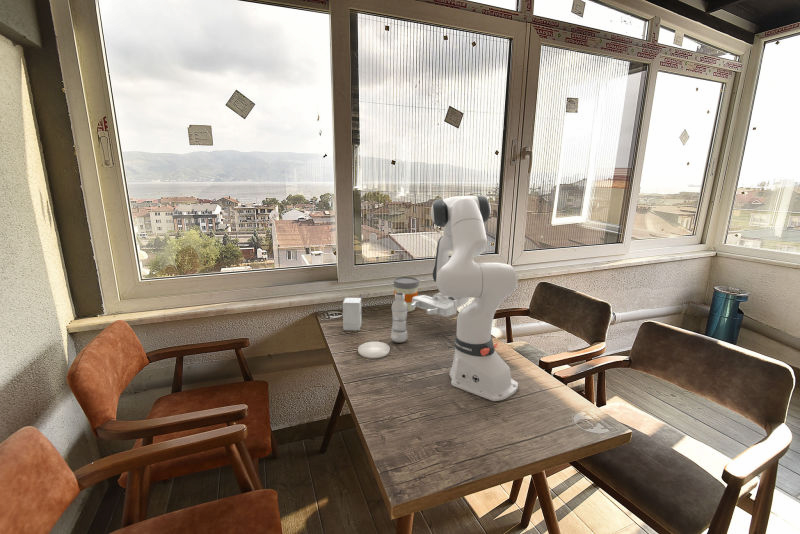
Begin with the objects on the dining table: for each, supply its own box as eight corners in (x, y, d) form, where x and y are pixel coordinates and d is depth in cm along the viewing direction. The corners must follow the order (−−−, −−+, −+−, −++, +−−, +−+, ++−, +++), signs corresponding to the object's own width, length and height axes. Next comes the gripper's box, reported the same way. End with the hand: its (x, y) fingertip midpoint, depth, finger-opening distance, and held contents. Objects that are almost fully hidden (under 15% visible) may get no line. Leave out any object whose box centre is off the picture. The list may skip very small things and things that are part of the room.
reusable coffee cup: (396, 313, 181) (396, 284, 177) (391, 305, 193) (391, 277, 189) (421, 311, 184) (422, 282, 180) (414, 303, 196) (414, 276, 192)
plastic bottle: (391, 337, 154) (391, 291, 150) (407, 337, 154) (408, 291, 149) (390, 344, 148) (390, 296, 143) (407, 344, 148) (408, 296, 143)
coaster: (396, 351, 142) (396, 349, 142) (371, 361, 134) (371, 358, 134) (376, 341, 151) (376, 338, 151) (352, 350, 143) (351, 347, 143)
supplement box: (359, 330, 161) (359, 303, 158) (342, 330, 161) (342, 302, 158) (362, 324, 168) (361, 297, 165) (345, 323, 168) (344, 297, 165)
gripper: (424, 290, 172) (402, 296, 163) (459, 301, 157) (437, 308, 148) (424, 303, 173) (402, 309, 164) (459, 315, 158) (437, 323, 149)
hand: (419, 309), depth 156 cm, fingers open, 8 cm apart
